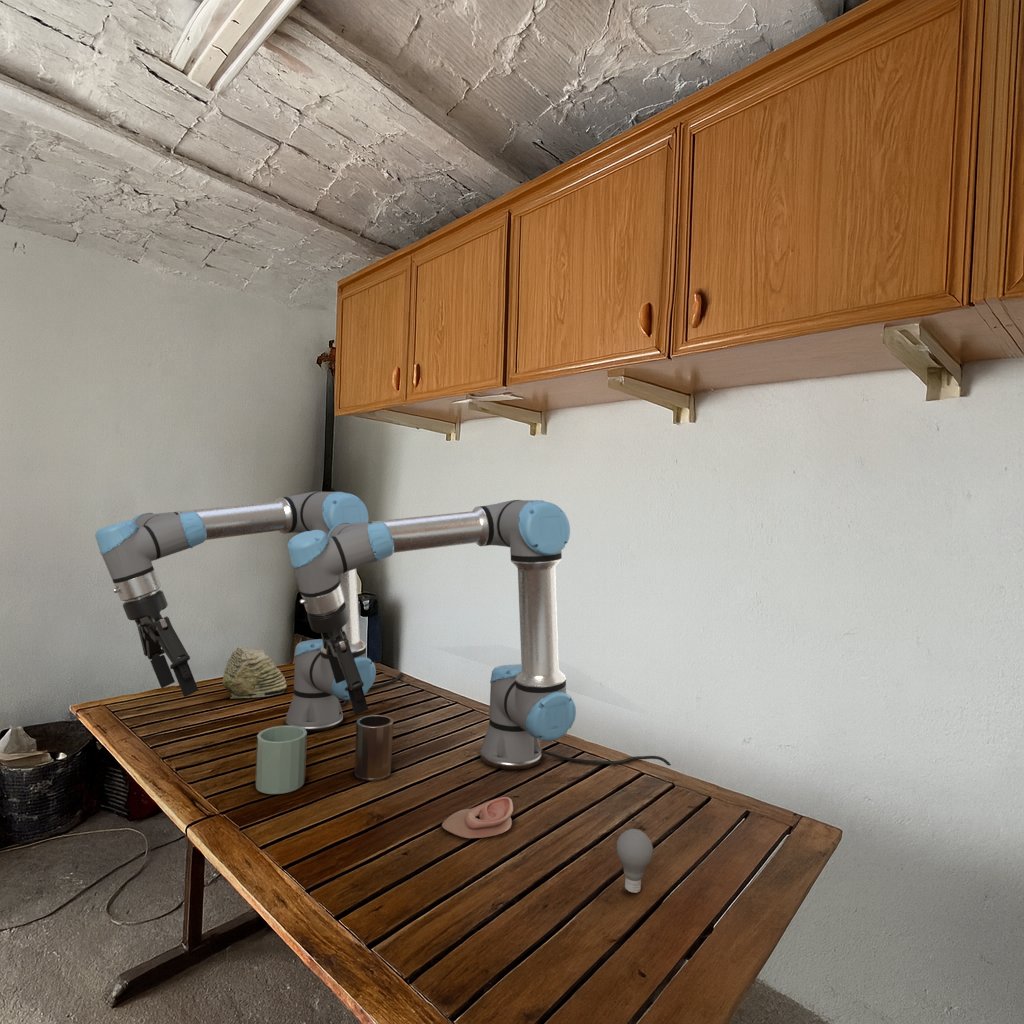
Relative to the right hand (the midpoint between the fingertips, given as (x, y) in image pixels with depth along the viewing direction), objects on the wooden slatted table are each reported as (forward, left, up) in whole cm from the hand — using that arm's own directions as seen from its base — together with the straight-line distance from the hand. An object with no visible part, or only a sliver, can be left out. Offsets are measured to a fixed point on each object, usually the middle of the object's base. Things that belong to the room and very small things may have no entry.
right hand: (351, 695), depth 132 cm
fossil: (+20, -77, -22) cm, 83 cm away
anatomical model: (-23, +17, -22) cm, 36 cm away
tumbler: (-7, -12, -22) cm, 26 cm away
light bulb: (-42, +45, -22) cm, 65 cm away
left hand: (+34, -13, 0) cm, 36 cm away
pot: (+13, -12, -22) cm, 28 cm away
